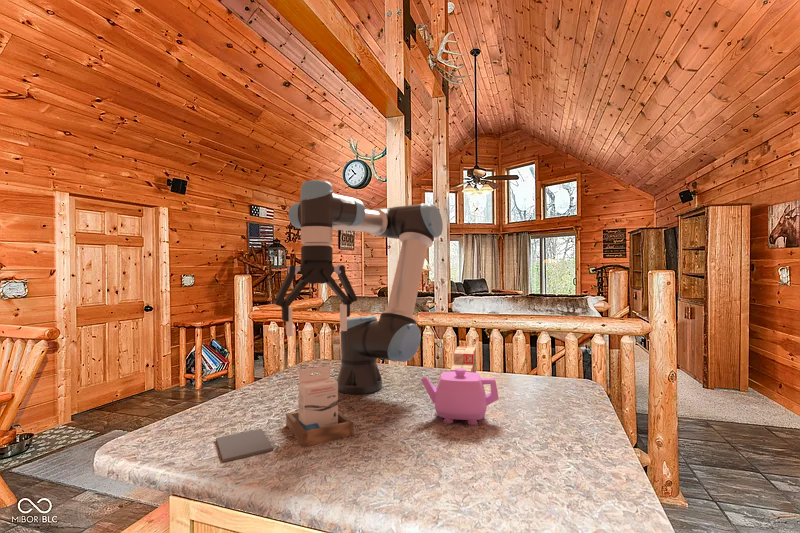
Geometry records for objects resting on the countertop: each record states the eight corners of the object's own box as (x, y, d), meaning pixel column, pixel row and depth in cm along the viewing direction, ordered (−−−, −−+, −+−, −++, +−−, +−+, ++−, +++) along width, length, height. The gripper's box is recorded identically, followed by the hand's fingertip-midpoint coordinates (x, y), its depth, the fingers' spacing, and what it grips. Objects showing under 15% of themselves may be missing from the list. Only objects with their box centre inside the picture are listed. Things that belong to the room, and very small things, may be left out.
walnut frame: (331, 415, 105) (331, 404, 105) (353, 434, 93) (353, 422, 93) (286, 425, 99) (286, 413, 99) (303, 447, 87) (303, 433, 87)
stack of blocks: (471, 403, 115) (470, 360, 115) (449, 401, 116) (449, 359, 116) (476, 382, 136) (476, 346, 136) (458, 381, 137) (457, 345, 137)
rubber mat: (261, 430, 96) (261, 428, 96) (273, 450, 86) (273, 447, 86) (216, 440, 91) (216, 437, 91) (223, 462, 81) (223, 459, 81)
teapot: (497, 411, 108) (496, 364, 108) (500, 429, 96) (500, 377, 96) (424, 407, 111) (423, 362, 111) (418, 424, 99) (418, 374, 99)
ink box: (305, 438, 92) (304, 374, 92) (298, 430, 96) (297, 370, 96) (339, 429, 97) (338, 369, 97) (330, 423, 101) (330, 365, 101)
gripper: (357, 247, 106) (357, 326, 106) (260, 245, 93) (260, 335, 93) (369, 245, 100) (370, 330, 99) (267, 243, 87) (268, 340, 87)
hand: (317, 332), depth 96 cm, fingers open, 13 cm apart
